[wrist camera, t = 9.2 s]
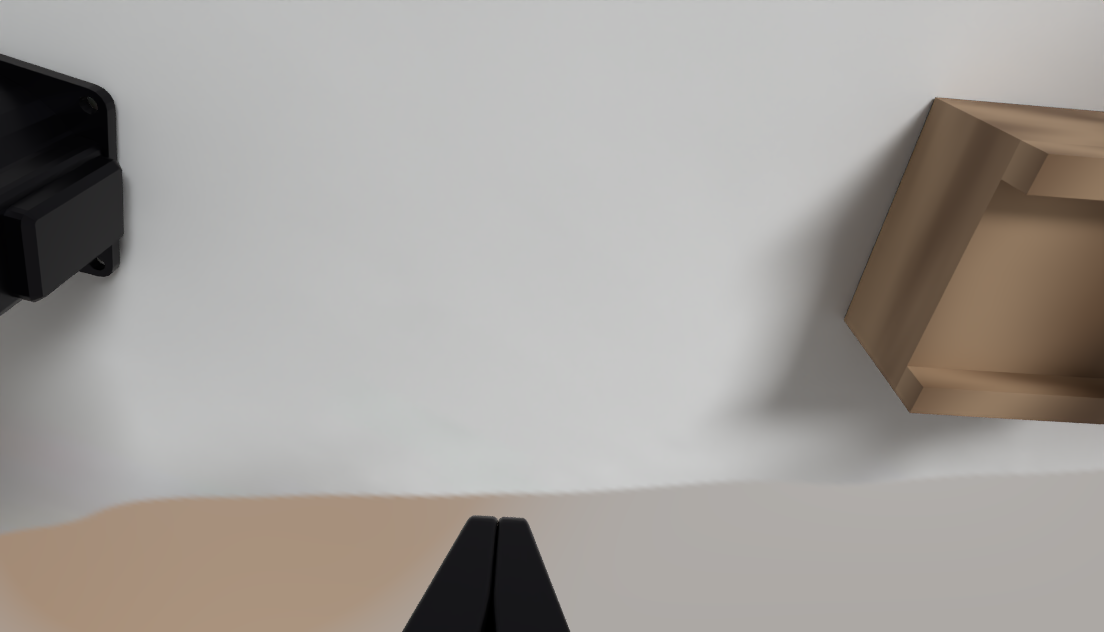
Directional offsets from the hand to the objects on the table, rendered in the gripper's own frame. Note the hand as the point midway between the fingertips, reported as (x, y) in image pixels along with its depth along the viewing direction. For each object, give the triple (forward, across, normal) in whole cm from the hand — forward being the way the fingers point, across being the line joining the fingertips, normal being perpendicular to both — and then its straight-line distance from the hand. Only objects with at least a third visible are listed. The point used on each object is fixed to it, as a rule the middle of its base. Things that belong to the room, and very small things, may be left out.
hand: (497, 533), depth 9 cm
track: (+13, -17, 0) cm, 21 cm away
